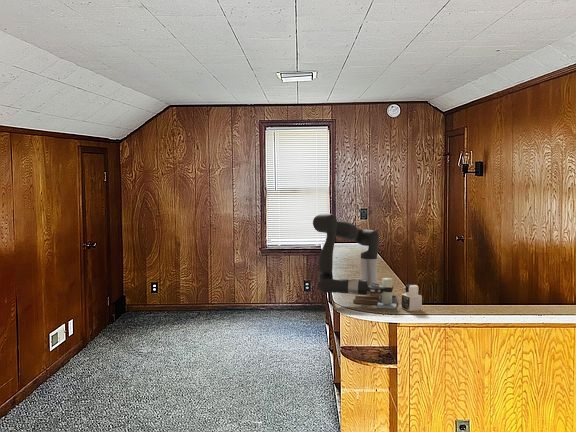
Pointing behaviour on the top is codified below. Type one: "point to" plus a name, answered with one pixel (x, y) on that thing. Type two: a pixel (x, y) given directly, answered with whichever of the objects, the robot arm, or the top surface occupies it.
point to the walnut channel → (366, 299)
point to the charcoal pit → (394, 299)
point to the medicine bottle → (411, 298)
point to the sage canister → (387, 295)
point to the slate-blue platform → (387, 305)
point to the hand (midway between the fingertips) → (392, 288)
